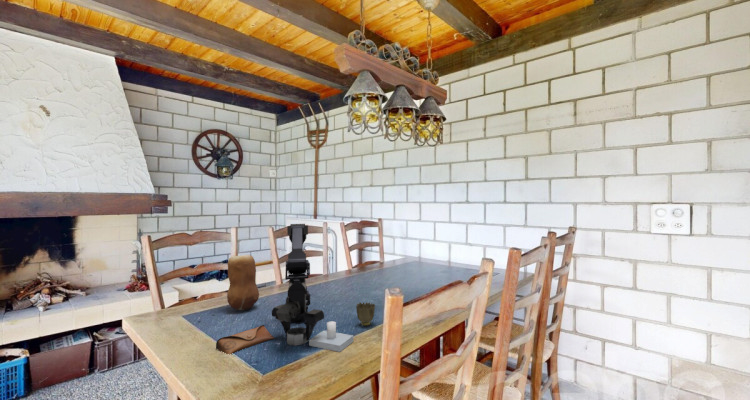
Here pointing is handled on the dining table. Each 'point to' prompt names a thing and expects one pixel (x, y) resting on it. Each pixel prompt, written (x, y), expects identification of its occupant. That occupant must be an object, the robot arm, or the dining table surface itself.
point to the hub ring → (296, 336)
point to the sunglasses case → (243, 340)
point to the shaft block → (331, 339)
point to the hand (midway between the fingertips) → (297, 338)
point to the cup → (365, 313)
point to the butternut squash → (242, 282)
